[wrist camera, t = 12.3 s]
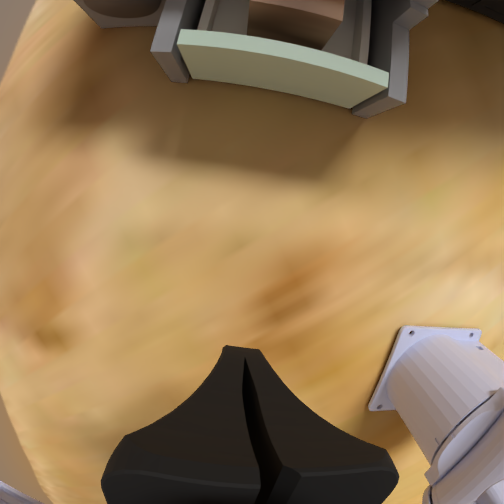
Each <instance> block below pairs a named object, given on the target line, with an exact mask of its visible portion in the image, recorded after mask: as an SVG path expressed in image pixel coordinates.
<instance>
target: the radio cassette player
mask: <svg viewBox="0 0 504 504" xmlns="http://www.w3.org/2000/svg"><path fill="white" fill-rule="evenodd" d="M446 1H449V2H452V3H455V4H458V5H460V6H463V7H466V8H468V9H471V10H473V11H476V12H478V13H481V14H483V15H485V16H488V17H490V18H492V19H494V20H497V21H499V22H501V23H503V24H504V0H446Z"/></svg>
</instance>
